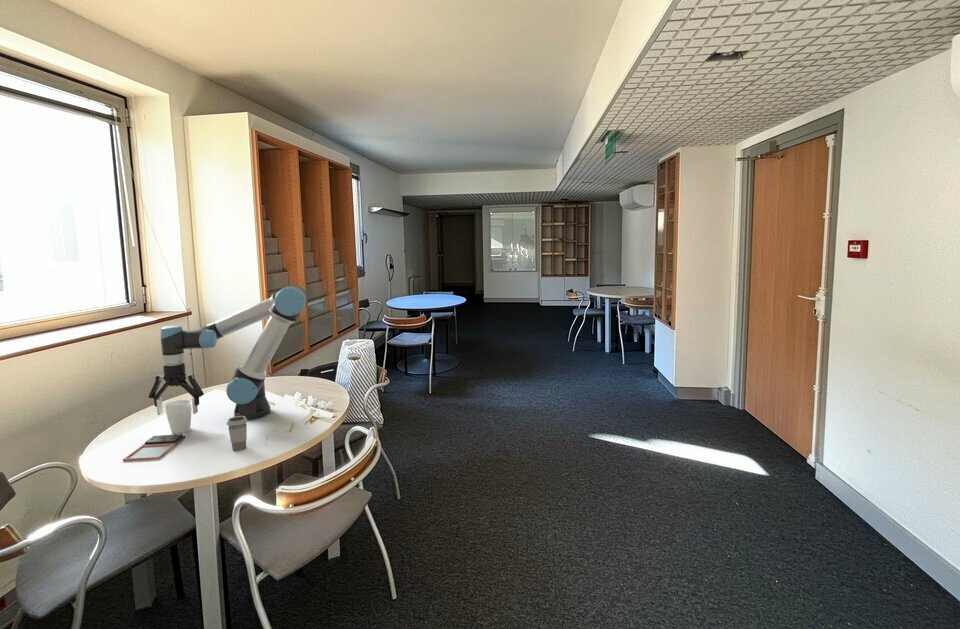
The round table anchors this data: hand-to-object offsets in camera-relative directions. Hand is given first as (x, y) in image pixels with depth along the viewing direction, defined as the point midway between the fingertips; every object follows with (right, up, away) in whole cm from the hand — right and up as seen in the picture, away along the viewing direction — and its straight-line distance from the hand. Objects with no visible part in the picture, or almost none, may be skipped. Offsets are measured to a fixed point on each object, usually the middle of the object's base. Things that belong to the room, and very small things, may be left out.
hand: (177, 413), depth 198 cm
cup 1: (0, -8, +1) cm, 8 cm away
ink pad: (+1, -9, -11) cm, 14 cm away
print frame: (+3, -11, -20) cm, 23 cm away
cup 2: (+34, -10, -17) cm, 39 cm away
